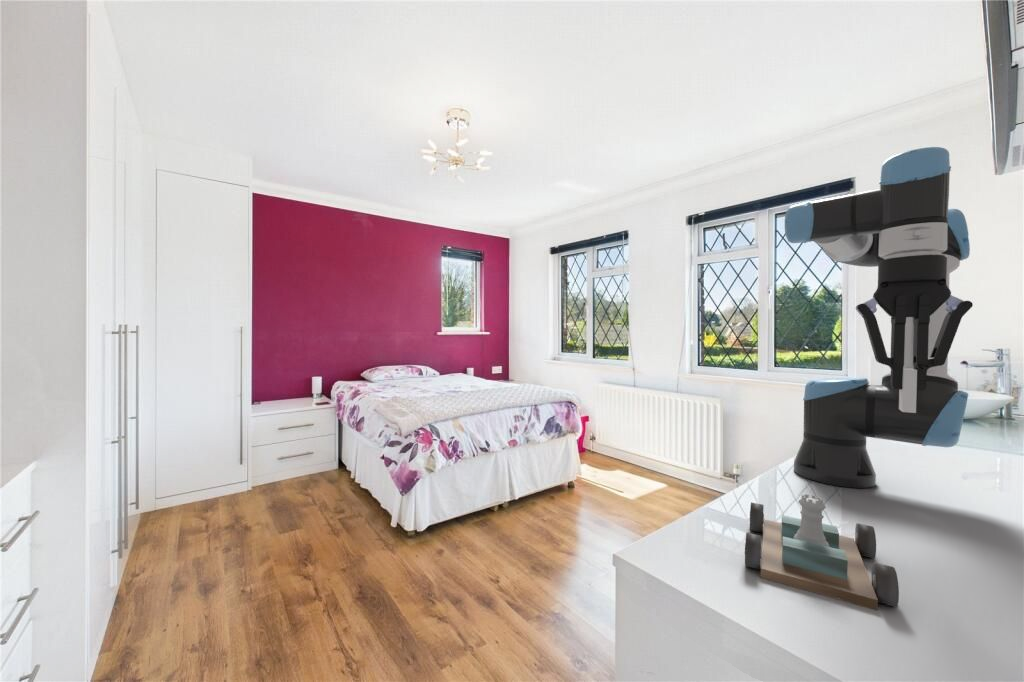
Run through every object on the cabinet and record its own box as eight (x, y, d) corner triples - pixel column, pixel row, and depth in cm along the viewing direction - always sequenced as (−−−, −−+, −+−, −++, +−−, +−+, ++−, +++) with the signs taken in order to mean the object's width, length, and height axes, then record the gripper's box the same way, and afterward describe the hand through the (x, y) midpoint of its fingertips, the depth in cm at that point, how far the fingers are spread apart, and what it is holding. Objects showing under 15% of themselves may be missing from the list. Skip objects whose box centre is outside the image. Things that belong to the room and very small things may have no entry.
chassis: (750, 523, 72) (751, 498, 72) (870, 549, 64) (871, 521, 63) (743, 572, 57) (744, 540, 57) (900, 616, 48) (901, 579, 48)
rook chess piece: (836, 562, 58) (838, 505, 58) (801, 558, 59) (802, 502, 58) (819, 546, 62) (821, 493, 62) (786, 542, 63) (788, 490, 63)
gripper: (858, 257, 63) (855, 410, 64) (983, 248, 56) (977, 420, 57) (853, 263, 70) (850, 403, 70) (964, 255, 62) (959, 411, 63)
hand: (907, 410), depth 64 cm, fingers closed
